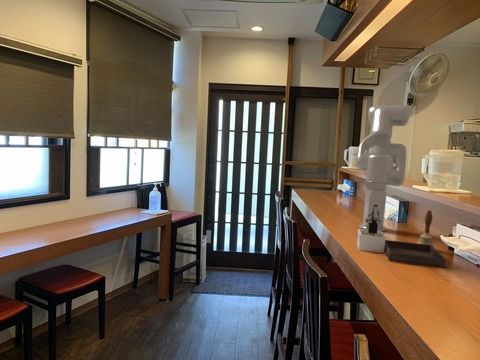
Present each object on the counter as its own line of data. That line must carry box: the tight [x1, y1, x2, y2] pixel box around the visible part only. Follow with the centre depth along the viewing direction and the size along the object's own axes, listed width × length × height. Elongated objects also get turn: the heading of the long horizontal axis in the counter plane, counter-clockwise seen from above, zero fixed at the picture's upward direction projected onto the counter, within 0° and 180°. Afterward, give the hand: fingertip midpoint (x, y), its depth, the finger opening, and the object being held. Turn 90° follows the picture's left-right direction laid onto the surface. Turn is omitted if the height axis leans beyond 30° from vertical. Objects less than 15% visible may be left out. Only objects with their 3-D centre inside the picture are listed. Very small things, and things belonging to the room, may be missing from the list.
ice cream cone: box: [365, 214, 380, 236], centre depth 137 cm, size 6×6×15 cm
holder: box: [356, 228, 386, 254], centre depth 137 cm, size 9×9×6 cm
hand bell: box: [417, 209, 435, 248], centre depth 139 cm, size 8×8×16 cm
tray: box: [384, 239, 447, 269], centre depth 129 cm, size 18×18×3 cm
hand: (371, 230), depth 137 cm, fingers closed on ice cream cone, 5 cm apart
